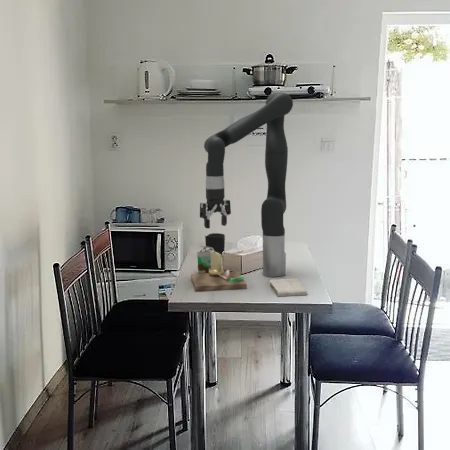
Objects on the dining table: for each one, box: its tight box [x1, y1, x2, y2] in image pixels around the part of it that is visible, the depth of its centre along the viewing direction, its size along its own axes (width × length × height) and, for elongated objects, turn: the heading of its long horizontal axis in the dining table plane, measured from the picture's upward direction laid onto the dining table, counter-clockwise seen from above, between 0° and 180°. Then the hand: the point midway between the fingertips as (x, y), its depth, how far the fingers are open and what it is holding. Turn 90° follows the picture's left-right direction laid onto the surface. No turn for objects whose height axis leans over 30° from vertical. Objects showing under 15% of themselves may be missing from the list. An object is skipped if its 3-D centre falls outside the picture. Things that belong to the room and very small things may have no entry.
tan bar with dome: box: [209, 251, 230, 281], centre depth 247 cm, size 15×6×9 cm, turn 27°
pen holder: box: [204, 232, 226, 255], centre depth 294 cm, size 9×9×10 cm
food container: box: [196, 245, 214, 274], centre depth 263 cm, size 12×6×10 cm, turn 168°
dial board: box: [190, 271, 248, 292], centre depth 246 cm, size 20×19×4 cm
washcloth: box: [269, 278, 308, 297], centre depth 237 cm, size 12×18×3 cm, turn 8°
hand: (215, 226), depth 248 cm, fingers open, 8 cm apart
